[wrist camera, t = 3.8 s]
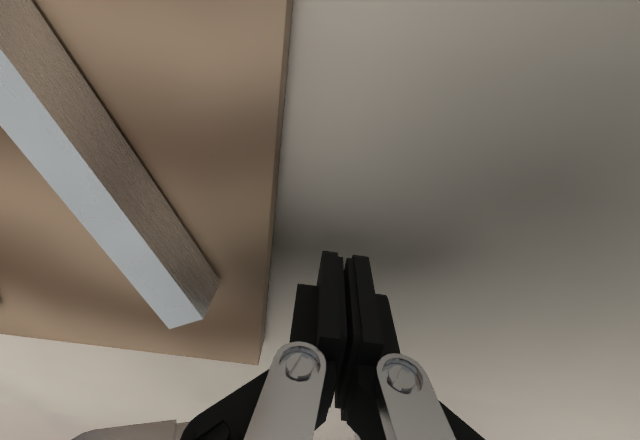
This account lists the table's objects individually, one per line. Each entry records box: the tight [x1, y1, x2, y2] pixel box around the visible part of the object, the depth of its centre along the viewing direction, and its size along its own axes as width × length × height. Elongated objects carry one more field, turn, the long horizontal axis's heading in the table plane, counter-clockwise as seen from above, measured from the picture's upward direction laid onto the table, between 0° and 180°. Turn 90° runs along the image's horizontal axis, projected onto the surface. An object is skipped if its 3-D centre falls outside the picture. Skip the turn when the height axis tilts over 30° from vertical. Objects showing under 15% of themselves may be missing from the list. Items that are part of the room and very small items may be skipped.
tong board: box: [0, 0, 293, 365], centre depth 10 cm, size 22×14×4 cm, turn 172°
